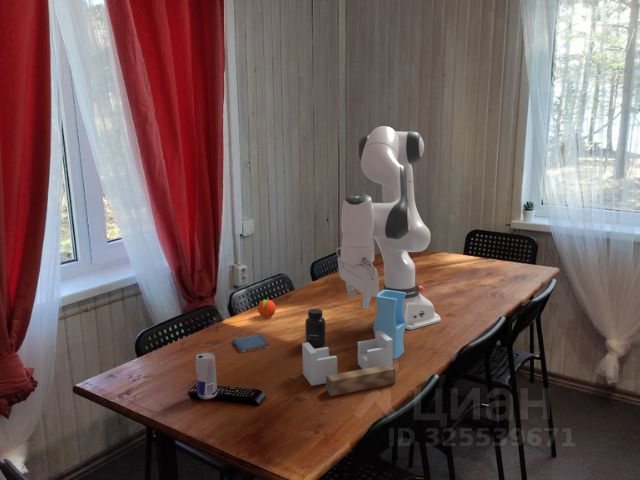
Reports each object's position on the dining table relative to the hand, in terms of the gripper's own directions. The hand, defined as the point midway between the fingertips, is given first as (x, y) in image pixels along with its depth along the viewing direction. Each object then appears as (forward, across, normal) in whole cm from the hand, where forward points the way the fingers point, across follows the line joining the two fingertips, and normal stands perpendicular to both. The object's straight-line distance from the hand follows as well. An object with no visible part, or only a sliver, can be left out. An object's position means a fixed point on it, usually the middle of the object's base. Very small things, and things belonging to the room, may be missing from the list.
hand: (358, 302), depth 157 cm
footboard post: (+25, +10, +8) cm, 28 cm away
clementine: (+26, +66, +11) cm, 71 cm away
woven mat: (+26, +42, +23) cm, 54 cm away
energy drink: (+26, +11, +42) cm, 50 cm away
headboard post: (+25, +10, -8) cm, 28 cm away
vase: (+26, +18, -18) cm, 36 cm away
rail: (+25, 0, -1) cm, 25 cm away
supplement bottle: (+26, +34, +2) cm, 42 cm away
